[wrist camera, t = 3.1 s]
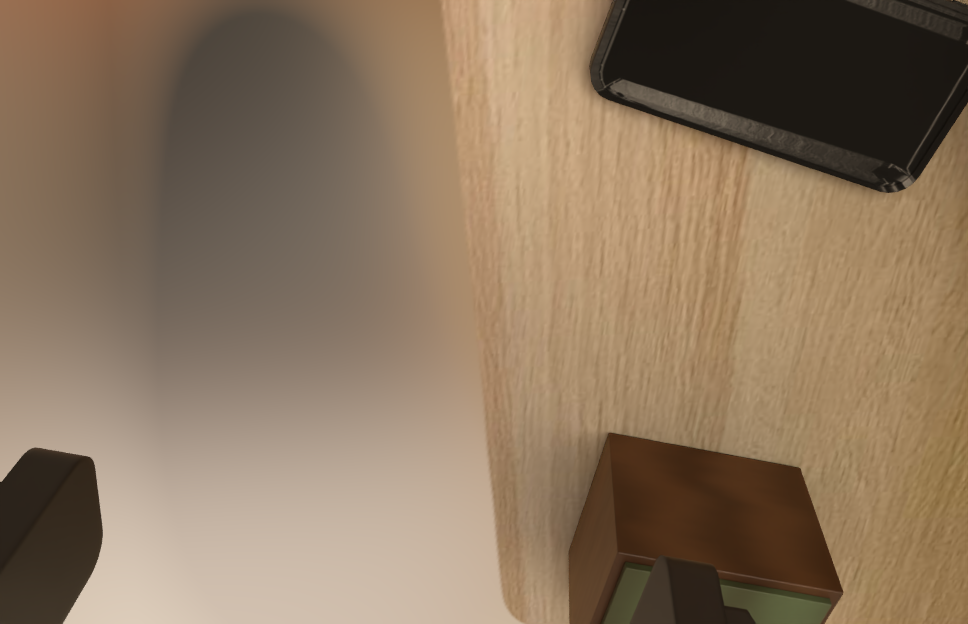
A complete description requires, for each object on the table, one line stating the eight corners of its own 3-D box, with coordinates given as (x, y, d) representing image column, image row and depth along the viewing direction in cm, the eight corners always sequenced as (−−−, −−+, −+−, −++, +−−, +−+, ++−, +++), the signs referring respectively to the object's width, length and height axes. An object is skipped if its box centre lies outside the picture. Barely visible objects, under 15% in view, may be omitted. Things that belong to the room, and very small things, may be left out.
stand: (568, 551, 52) (569, 683, 44) (608, 432, 46) (618, 559, 39) (740, 582, 52) (771, 719, 45) (800, 467, 47) (846, 600, 39)
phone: (903, 199, 37) (582, 91, 35) (895, 189, 37) (581, 83, 36) (1019, 23, 32) (658, -108, 31) (1006, 16, 33) (656, -112, 32)
